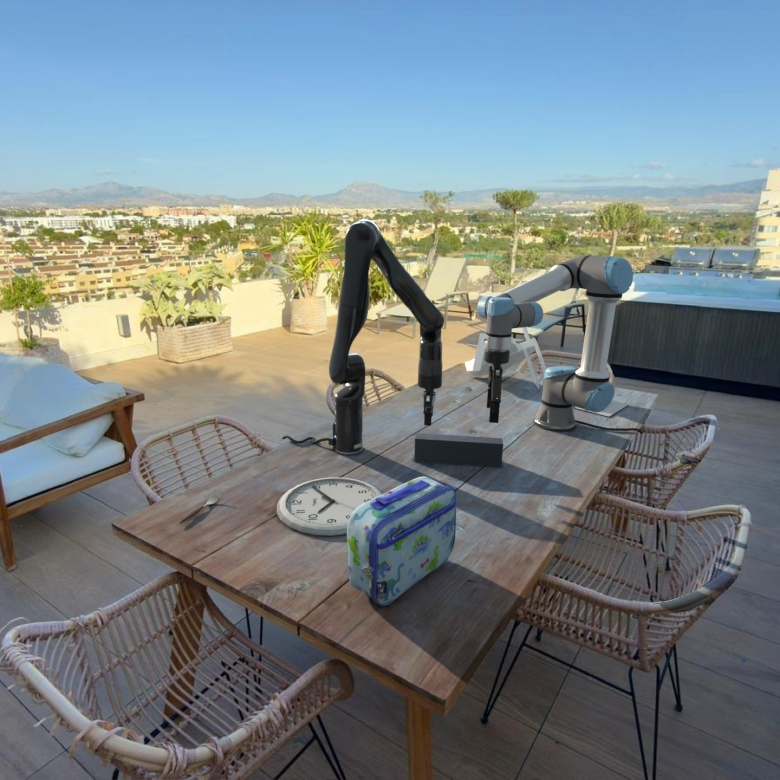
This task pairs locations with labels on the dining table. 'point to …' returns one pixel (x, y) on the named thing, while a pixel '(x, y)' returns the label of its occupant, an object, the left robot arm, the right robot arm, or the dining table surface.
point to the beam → (458, 449)
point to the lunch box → (400, 538)
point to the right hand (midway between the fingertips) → (492, 414)
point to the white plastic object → (516, 353)
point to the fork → (209, 502)
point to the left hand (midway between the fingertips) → (428, 420)
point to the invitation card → (609, 408)
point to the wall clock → (324, 504)
